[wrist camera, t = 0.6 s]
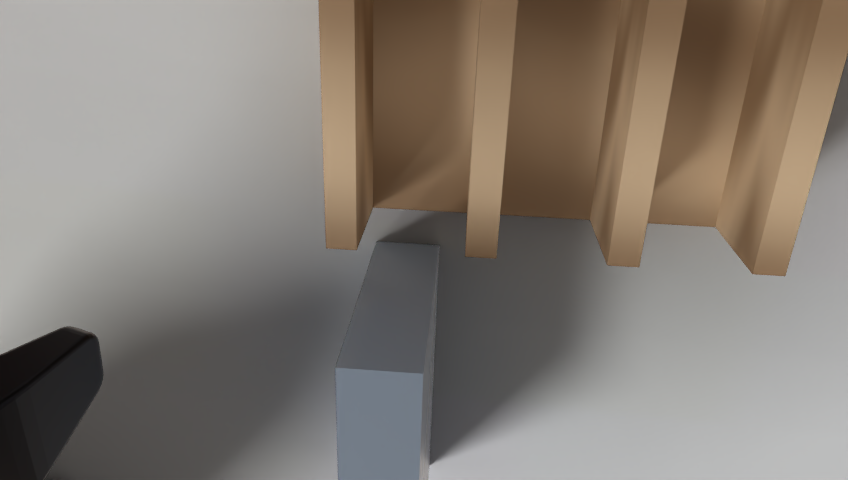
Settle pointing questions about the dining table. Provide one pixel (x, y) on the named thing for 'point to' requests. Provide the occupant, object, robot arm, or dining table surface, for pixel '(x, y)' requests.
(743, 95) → the rack
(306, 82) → the dining table surface
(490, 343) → the dining table surface
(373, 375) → the blue-grey flat block
